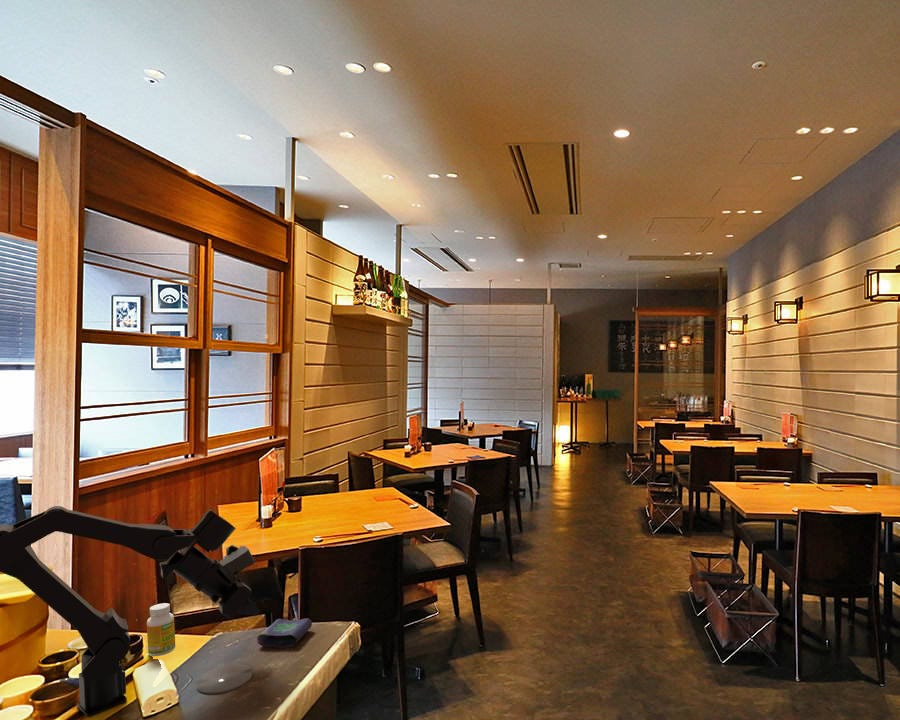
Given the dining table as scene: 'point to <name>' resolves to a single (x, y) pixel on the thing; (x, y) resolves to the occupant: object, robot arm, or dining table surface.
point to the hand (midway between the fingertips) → (258, 613)
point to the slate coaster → (224, 679)
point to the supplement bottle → (160, 630)
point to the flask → (284, 633)
